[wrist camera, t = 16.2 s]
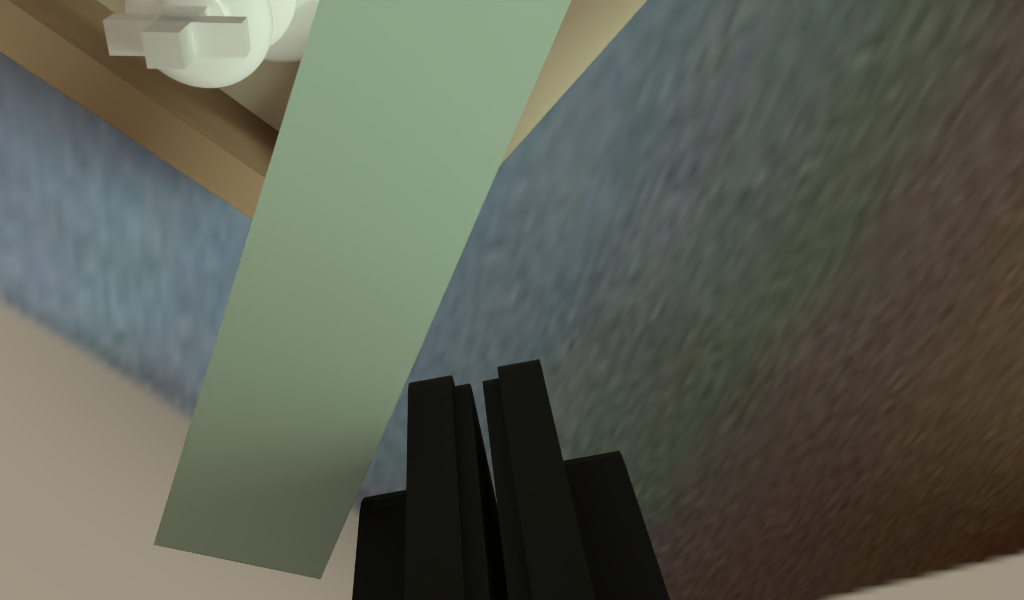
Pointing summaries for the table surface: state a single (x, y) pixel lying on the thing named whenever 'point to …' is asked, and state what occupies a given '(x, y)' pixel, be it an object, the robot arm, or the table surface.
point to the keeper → (348, 265)
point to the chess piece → (210, 36)
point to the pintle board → (232, 88)
